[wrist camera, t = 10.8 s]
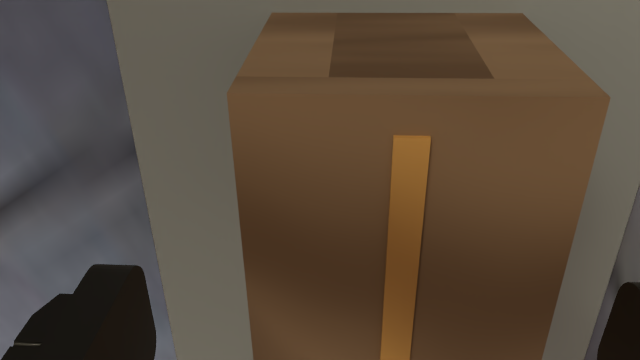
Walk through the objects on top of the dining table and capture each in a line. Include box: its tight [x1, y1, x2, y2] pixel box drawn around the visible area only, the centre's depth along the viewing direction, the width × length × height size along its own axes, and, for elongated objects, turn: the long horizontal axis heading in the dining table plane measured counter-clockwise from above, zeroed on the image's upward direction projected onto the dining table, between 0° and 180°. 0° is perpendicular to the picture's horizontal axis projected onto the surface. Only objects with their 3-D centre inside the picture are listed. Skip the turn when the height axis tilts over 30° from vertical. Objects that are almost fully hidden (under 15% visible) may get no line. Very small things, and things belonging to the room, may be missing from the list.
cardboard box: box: [227, 13, 611, 360], centre depth 13 cm, size 7×6×6 cm
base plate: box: [107, 0, 640, 360], centre depth 16 cm, size 14×18×2 cm
